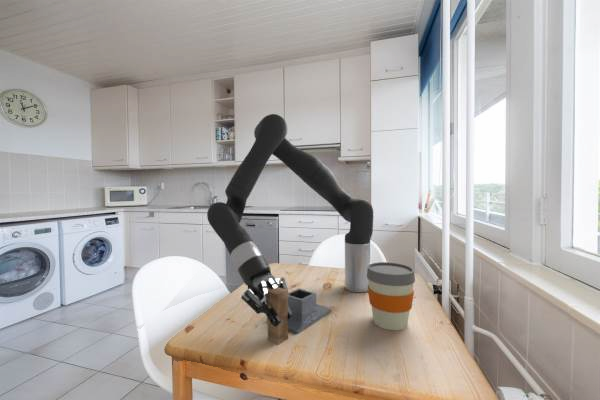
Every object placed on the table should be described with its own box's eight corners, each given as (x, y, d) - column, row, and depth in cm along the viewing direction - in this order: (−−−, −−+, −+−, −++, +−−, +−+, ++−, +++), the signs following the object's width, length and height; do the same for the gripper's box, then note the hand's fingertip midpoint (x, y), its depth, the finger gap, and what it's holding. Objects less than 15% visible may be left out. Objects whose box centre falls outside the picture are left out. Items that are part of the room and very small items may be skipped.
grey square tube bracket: (302, 302, 87) (302, 282, 87) (331, 311, 80) (331, 290, 80) (267, 321, 75) (266, 298, 75) (297, 334, 68) (297, 308, 68)
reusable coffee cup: (359, 325, 72) (359, 270, 72) (375, 308, 82) (375, 259, 82) (409, 339, 65) (409, 278, 64) (419, 318, 75) (419, 266, 75)
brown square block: (277, 333, 68) (277, 287, 68) (288, 338, 66) (287, 290, 65) (267, 339, 65) (267, 291, 65) (278, 344, 63) (277, 294, 63)
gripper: (234, 259, 64) (270, 325, 57) (275, 249, 75) (310, 303, 68) (221, 277, 68) (254, 341, 60) (263, 265, 79) (294, 318, 71)
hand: (283, 321), depth 64 cm, fingers closed on brown square block, 3 cm apart
